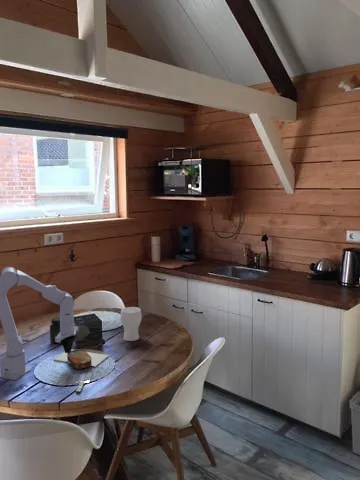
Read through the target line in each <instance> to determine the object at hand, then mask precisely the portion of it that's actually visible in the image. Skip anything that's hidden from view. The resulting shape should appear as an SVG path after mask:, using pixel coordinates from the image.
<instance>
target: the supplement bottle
mask: <svg viewBox="0 0 360 480" xmlns="http://www.w3.org/2000/svg"><path fill="white" fill-rule="evenodd" d="M50 321H51V322H50V325H49V341H50V344H51V345H62V343H61V342H60V343H58V342H55V338H56V337H57V336H58V334H59V333H60V316H57V317H52V318H51V319H50Z"/></svg>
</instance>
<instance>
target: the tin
mask: <svg viewBox="0 0 360 480" xmlns="http://www.w3.org/2000/svg"><path fill="white" fill-rule="evenodd" d="M72 350H73V351H71V352H70V353H68V354H67V359H68V361H69V362H70V363H69V364H70V365H71V366H72V368H74V369H76V370H77V369H79V370H81V369H85V368H89V366H90V365H91V359H92V358H91V357H90V356H89V355H88V353H87V352H88V351H86V350H83V349H72Z"/></svg>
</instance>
